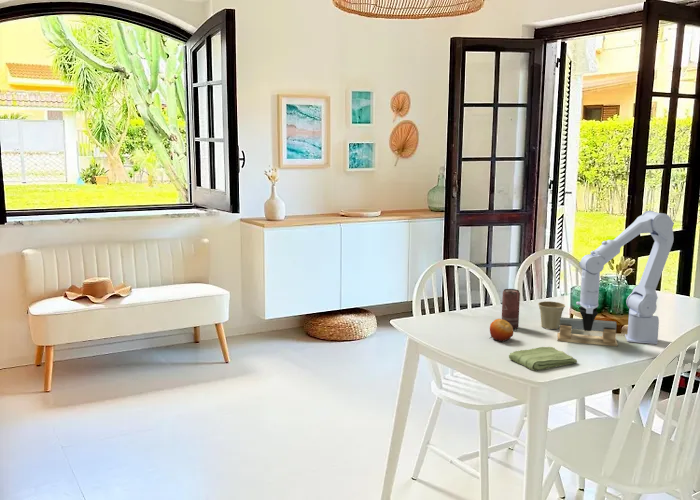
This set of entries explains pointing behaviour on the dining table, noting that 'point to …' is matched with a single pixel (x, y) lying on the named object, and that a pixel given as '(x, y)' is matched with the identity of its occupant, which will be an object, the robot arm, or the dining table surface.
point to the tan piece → (587, 337)
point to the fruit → (501, 330)
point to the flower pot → (550, 314)
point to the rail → (597, 325)
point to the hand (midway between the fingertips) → (587, 329)
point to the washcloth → (541, 358)
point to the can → (511, 307)
